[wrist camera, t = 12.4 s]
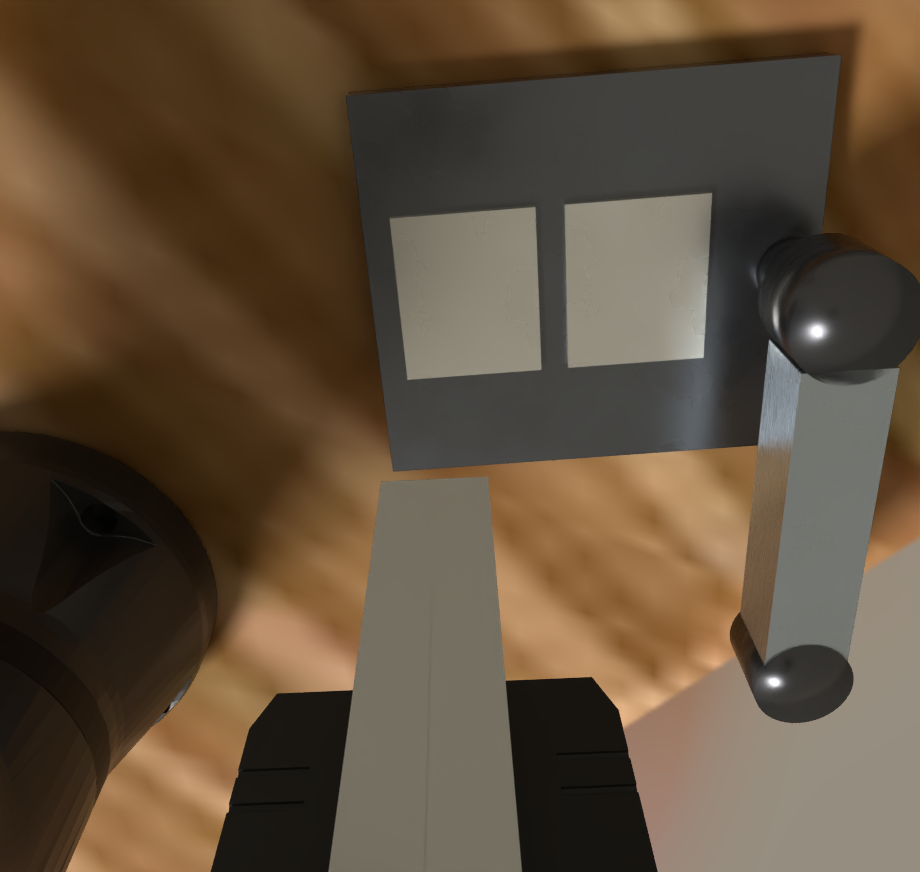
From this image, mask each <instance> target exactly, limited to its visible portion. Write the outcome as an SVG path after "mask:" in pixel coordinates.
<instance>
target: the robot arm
mask: <svg viewBox="0 0 920 872" xmlns="http://www.w3.org/2000/svg"><path fill="white" fill-rule="evenodd" d="M216 613H217V593H216V584H215V579H214V574H213V571H212V568H211V564H210V561H209V559H208V556H207V554H206V552H205V549H204V547H203V545H202V543H201V541H200V540H199V538H198V536H197V534H196V533H195V531H194V530H193V528H192V527H191V525H190V524H189V522H188V521H187V520H186V518H185V517H184V516H183V515H182V513H181V512H180V511H179V510H178V509H177V508H176V507H175V505H174V504H173V503H172V502H171V501H170V500H169V499H168V498H167V497H166V496H165V495H164V494H163V493H161V492H160V491H159V490H158V489H157V488H156V487H154V486H153V485H152V484H151V483H149V482H148V481H147V480H145V479H144V478H143V477H141V476H140V475H139V474H137V473H136V472H134V471H132V470H131V469H129V468H128V467H126V466H124V465H123V464H121V463H119V462H117V461H116V460H114V459H112V458H110V457H108V456H106V455H104V454H101V453H99V452H97V451H94V450H92V449H90V448H87V447H84V446H81V445H78V444H76V443H73V442H69V441H65V440H62V439H58V438H54V437H49V436H44V435H38V434H31V433H21V432H0V872H66V870H67V867H68V865H69V863H70V861H71V858H72V856H73V854H74V851H75V849H76V847H77V844H78V842H79V840H80V838H81V835H82V833H83V831H84V828H85V826H86V824H87V821H88V819H89V817H90V814H91V812H92V809H93V807H94V805H95V803H96V800H97V798H98V796H99V794H100V792H101V789H102V787H103V784H104V782H105V780H106V778H107V776H108V774H109V773H110V772H111V771H112V770H113V769H114V768H115V767H116V766H117V764H118V763H119V762H120V761H121V760H122V759H123V758H124V757H125V756H126V755H127V753H128V752H129V751H130V750H131V749H132V748H133V747H134V746H135V745H136V743H137V742H138V741H139V740H140V739H141V738H142V737H143V736H144V735H145V733H146V732H147V731H148V730H149V729H150V728H151V727H152V726H154V725H155V724H156V723H158V722H159V721H160V720H161V719H162V718H163V717H164V716H165V715H166V714H167V713H169V712H170V711H171V710H172V709H173V708H174V706H175V705H176V704H177V703H178V702H179V701H180V700H181V699H182V697H183V696H184V695H185V693H186V692H187V690H188V688H189V687H190V685H191V684H192V682H193V681H194V679H195V677H196V675H197V673H198V671H199V668H200V665H201V663H202V660H203V657H204V655H205V652H206V650H207V647H208V644H209V642H210V639H211V636H212V633H213V629H214V626H215V620H216ZM238 771H239V775H238V778H236V780H235V784H234V788H233V791H232V795H231V799H230V802H229V813H227V814H226V817H225V821H224V825H223V828H222V832H221V836H220V840H219V843H218V847H217V851H216V854H215V858H214V862H213V865H212V869H211V872H657V867H656V863H655V860H654V855H653V851H652V847H651V843H650V838H649V834H648V830H647V826H646V822H645V818H644V813H643V809H642V805H641V801H640V797H639V793H638V792H637V788H636V780H635V776H634V772H633V768H632V764H631V760H630V758H629V755H628V747H627V743H626V739H625V735H624V731H623V727H622V722H621V718H620V714H619V710H618V709H617V708H616V706H615V705H614V704H613V703H612V701H611V700H610V699H609V698H608V697H607V695H606V694H605V693H604V692H603V690H602V689H601V688H600V687H599V685H598V684H597V683H596V682H595V681H594V679H593V678H592V677H584V678H561V679H538V680H515V681H505V670H504V658H503V647H502V635H501V623H500V612H499V600H498V589H497V577H496V565H495V554H494V542H493V531H492V519H491V507H490V496H489V484H488V477H470V478H448V479H426V480H404V481H382V482H381V487H380V494H379V502H378V509H377V516H376V524H375V531H374V539H373V546H372V553H371V561H370V568H369V576H368V583H367V590H366V598H365V605H364V613H363V620H362V627H361V635H360V642H359V650H358V657H357V664H356V672H355V679H354V687H353V690H350V691H327V692H304V693H280V694H276V696H275V697H274V698H273V700H272V701H271V702H270V703H269V705H268V706H267V707H266V708H265V710H264V711H263V712H262V714H261V715H260V716H259V717H258V719H257V720H256V721H255V722H254V724H253V725H252V726H251V727H250V729H249V732H248V736H247V739H246V743H245V747H244V751H243V754H242V758H241V762H240V765H239V769H238Z"/></svg>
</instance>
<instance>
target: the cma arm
mask: <svg viewBox="0 0 920 872" xmlns="http://www.w3.org/2000/svg"><path fill="white" fill-rule="evenodd" d="M758 309H759V315H760V319H761V321H762V324H763V326H764V327H765V329H766V331H767V332H768V333H769V334H770V335H771V337H772V338H773V339H770V340H769V345H768V354H767V364H766V373H765V383H764V392H763V402H762V411H761V421H760V430H759V440H758V450H757V459H756V469H755V478H754V488H753V497H752V507H751V516H750V526H749V535H748V545H747V554H746V564H745V574H744V583H743V593H742V602H741V611H740V613H739V614H738V615H737V616H736V618H735V619H734V621H733V623H732V626H731V630H730V641H731V645H732V647H733V649H734V652H735V654H736V656H737V659H738V661H739V663H740V666H741V668H742V670H743V672H744V674H745V677H746V679H747V682H748V684H749V686H750V688H751V691H752V693H753V695H754V698H755V700H756V702H757V704H758V706H759V708H760V709H761V710H762V711H763V712H764V713H765V714H766V715H768V716H770V717H771V718H773V719H776V720H779V721H782V722H789V723H802V722H808V721H813V720H816V719H819V718H821V717H824V716H826V715H828V714H830V713H831V712H833V711H834V710H835V709H837V708H838V707H839V706H840V705H841V704H842V703H843V702H844V701H845V700H846V698H847V696H848V695H849V694H850V692H851V689H852V686H853V672H852V669H851V667H850V665H849V663H848V655H849V650H850V644H851V639H852V633H853V628H854V622H855V616H856V611H857V605H858V600H859V594H860V588H861V583H862V577H863V572H864V566H865V560H866V555H867V549H868V544H869V538H870V532H871V527H872V521H873V516H874V510H875V504H876V499H877V493H878V488H879V482H880V476H881V471H882V465H883V460H884V454H885V448H886V443H887V437H888V431H889V426H890V420H891V415H892V409H893V403H894V398H895V392H896V387H897V381H898V375H899V370H900V368H899V367H898V365H899V364H900V363H901V362H902V361H903V360H904V359H905V358H906V357H907V355H908V354H909V353H910V352H911V351H912V349H913V348H914V346H915V345H916V343H917V341H918V339H919V337H920V284H919V282H918V280H917V279H916V278H915V276H914V275H913V274H912V273H911V272H910V271H908V270H907V269H906V268H904V267H903V266H901V265H900V264H898V263H896V262H895V261H893V260H891V259H889V258H888V257H886V256H884V255H883V254H881V253H879V252H878V251H876V250H874V249H873V248H871V247H869V246H868V245H866V244H864V243H863V242H861V241H859V240H857V239H855V238H853V237H851V236H847V235H844V234H838V233H825V234H818V235H814V236H810V237H807V238H805V239H802V240H800V241H798V242H797V243H795V244H793V245H792V246H790V247H789V248H787V249H786V250H785V251H784V252H782V253H781V254H780V255H779V256H778V257H777V258H776V259H775V261H774V262H773V263H772V265H771V266H770V267H769V269H768V271H767V272H766V274H765V276H764V278H763V281H762V283H761V287H760V290H759V296H758Z"/></svg>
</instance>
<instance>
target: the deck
mask: <svg viewBox="0 0 920 872" xmlns="http://www.w3.org/2000/svg"><path fill="white" fill-rule="evenodd" d="M840 62H841V55H839V54H832V53H818V54H806V55H794V56H782V57H769V58H757V59H745V60H733V61H721V62H709V63H697V64H685V65H673V66H660V67H648V68H636V69H624V70H612V71H600V72H588V73H576V74H564V75H552V76H539V77H527V78H515V79H503V80H491V81H479V82H467V83H455V84H443V85H431V86H418V87H406V88H394V89H382V90H370V91H358V92H349V93H348V94H347V95H346V101H347V109H348V117H349V125H350V133H351V141H352V149H353V157H354V165H355V173H356V181H357V189H358V197H359V205H360V213H361V221H362V229H363V237H364V244H365V252H366V260H367V268H368V276H369V284H370V292H371V300H372V308H373V316H374V324H375V332H376V340H377V348H378V356H379V364H380V372H381V380H382V387H383V395H384V403H385V411H386V419H387V427H388V435H389V443H390V451H391V459H392V467H393V471H407V470H421V469H435V468H449V467H463V466H477V465H491V464H505V463H519V462H532V461H546V460H560V459H574V458H588V457H602V456H616V455H630V454H644V453H658V452H672V451H685V450H699V449H713V448H727V447H741V446H755V445H758V440H759V430H760V421H761V411H762V402H763V392H764V383H765V373H766V364H767V354H768V345H769V340H770V339H773V338H772V337H771V335H770V334H769V333H768V332H767V331H766V329H765V327H764V326H763V324H762V321H761V319H760V315H759V309H758V296H759V290H760V287H761V283H762V281H763V278H764V276H765V274H766V272H767V271H768V269H769V267H770V266H771V265H772V263H773V262H774V261H775V259H776V258H777V257H778V256H779V255H780V254H781V253H782V252H784V251H785V250H786V249H787V248H789V247H790V246H792V245H793V244H795V243H797V242H798V241H800V240H802V239H805V238H807V237H810V236H814V235H818V234H822V227H823V218H824V209H825V200H826V190H827V181H828V172H829V163H830V154H831V145H832V135H833V126H834V117H835V108H836V99H837V90H838V80H839V71H840Z"/></svg>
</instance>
